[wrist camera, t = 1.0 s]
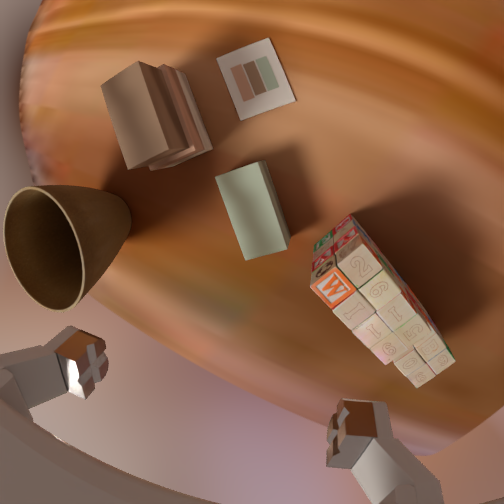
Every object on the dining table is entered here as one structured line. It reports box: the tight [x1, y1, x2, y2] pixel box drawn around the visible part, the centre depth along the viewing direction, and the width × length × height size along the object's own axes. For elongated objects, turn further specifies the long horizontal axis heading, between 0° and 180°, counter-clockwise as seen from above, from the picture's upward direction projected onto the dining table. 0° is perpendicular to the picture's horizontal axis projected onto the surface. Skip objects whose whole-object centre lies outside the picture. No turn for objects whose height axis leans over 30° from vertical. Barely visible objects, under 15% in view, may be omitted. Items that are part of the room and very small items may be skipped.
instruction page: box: [216, 38, 296, 121], centre depth 33 cm, size 7×9×1 cm
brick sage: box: [215, 160, 291, 260], centre depth 36 cm, size 5×10×5 cm, turn 20°
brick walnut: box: [101, 61, 190, 170], centre depth 29 cm, size 5×10×5 cm, turn 21°
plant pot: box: [3, 185, 132, 312], centre depth 36 cm, size 15×15×16 cm
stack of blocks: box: [310, 214, 455, 388], centre depth 33 cm, size 21×6×12 cm, turn 46°
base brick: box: [149, 64, 213, 171], centre depth 34 cm, size 6×11×6 cm, turn 21°
